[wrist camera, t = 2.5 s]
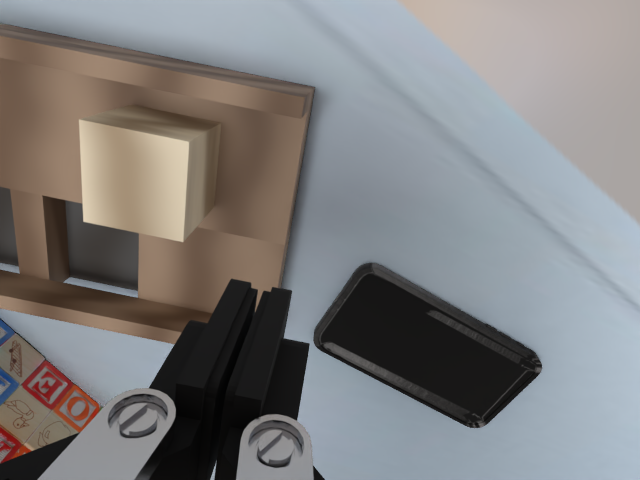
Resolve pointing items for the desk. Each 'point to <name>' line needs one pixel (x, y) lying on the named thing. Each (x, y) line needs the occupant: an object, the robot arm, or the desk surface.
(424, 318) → the phone
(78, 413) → the stack of blocks
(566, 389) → the desk surface
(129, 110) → the maple block
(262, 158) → the wooden shelf
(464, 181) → the desk surface
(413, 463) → the desk surface
